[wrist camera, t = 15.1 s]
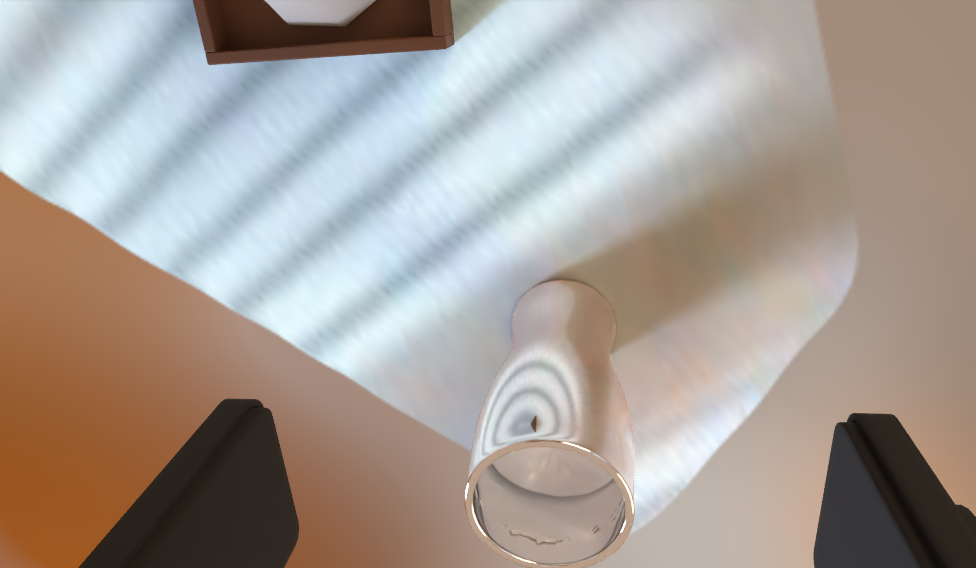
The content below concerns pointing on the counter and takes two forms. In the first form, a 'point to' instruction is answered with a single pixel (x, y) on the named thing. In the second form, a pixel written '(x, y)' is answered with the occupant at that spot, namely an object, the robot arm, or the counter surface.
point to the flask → (319, 11)
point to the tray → (320, 31)
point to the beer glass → (555, 437)
